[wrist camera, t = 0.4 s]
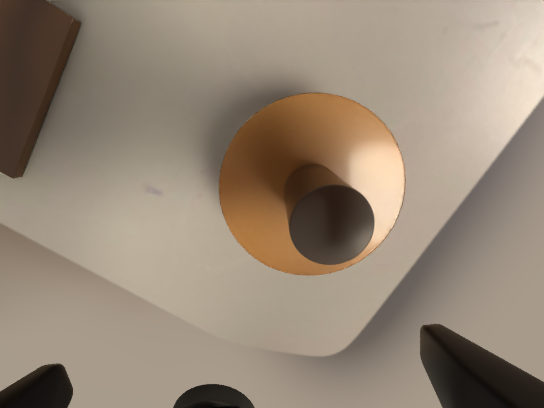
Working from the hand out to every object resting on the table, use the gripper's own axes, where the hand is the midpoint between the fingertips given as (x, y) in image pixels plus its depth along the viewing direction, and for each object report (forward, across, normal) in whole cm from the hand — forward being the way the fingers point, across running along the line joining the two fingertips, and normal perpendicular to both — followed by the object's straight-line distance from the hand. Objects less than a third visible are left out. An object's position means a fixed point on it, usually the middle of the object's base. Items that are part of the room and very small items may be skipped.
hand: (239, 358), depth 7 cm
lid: (+10, -3, -2) cm, 10 cm away
